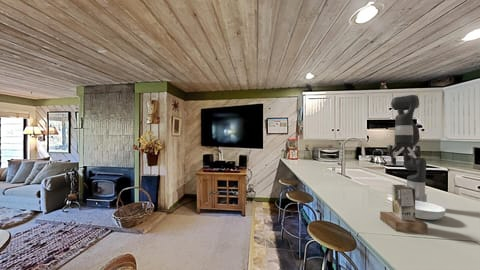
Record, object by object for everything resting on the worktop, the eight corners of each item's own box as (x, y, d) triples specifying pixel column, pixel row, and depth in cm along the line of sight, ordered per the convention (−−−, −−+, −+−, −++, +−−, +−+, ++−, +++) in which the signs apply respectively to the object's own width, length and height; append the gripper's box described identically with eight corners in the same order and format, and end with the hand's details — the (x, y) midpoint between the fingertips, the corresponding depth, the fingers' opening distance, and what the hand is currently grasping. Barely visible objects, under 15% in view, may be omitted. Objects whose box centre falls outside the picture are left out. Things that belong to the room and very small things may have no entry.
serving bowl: (431, 212, 124) (432, 201, 124) (455, 227, 104) (455, 214, 104) (392, 208, 131) (392, 197, 131) (406, 221, 111) (407, 208, 111)
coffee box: (416, 221, 99) (415, 189, 99) (401, 220, 101) (400, 188, 101) (405, 214, 108) (405, 184, 108) (391, 213, 110) (391, 184, 109)
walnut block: (407, 222, 110) (407, 213, 110) (427, 234, 97) (427, 224, 97) (380, 220, 112) (380, 211, 112) (395, 232, 99) (395, 222, 99)
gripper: (414, 134, 107) (414, 164, 107) (384, 134, 110) (384, 163, 110) (424, 134, 100) (424, 166, 100) (392, 134, 102) (391, 165, 102)
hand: (403, 165), depth 105 cm, fingers open, 8 cm apart
